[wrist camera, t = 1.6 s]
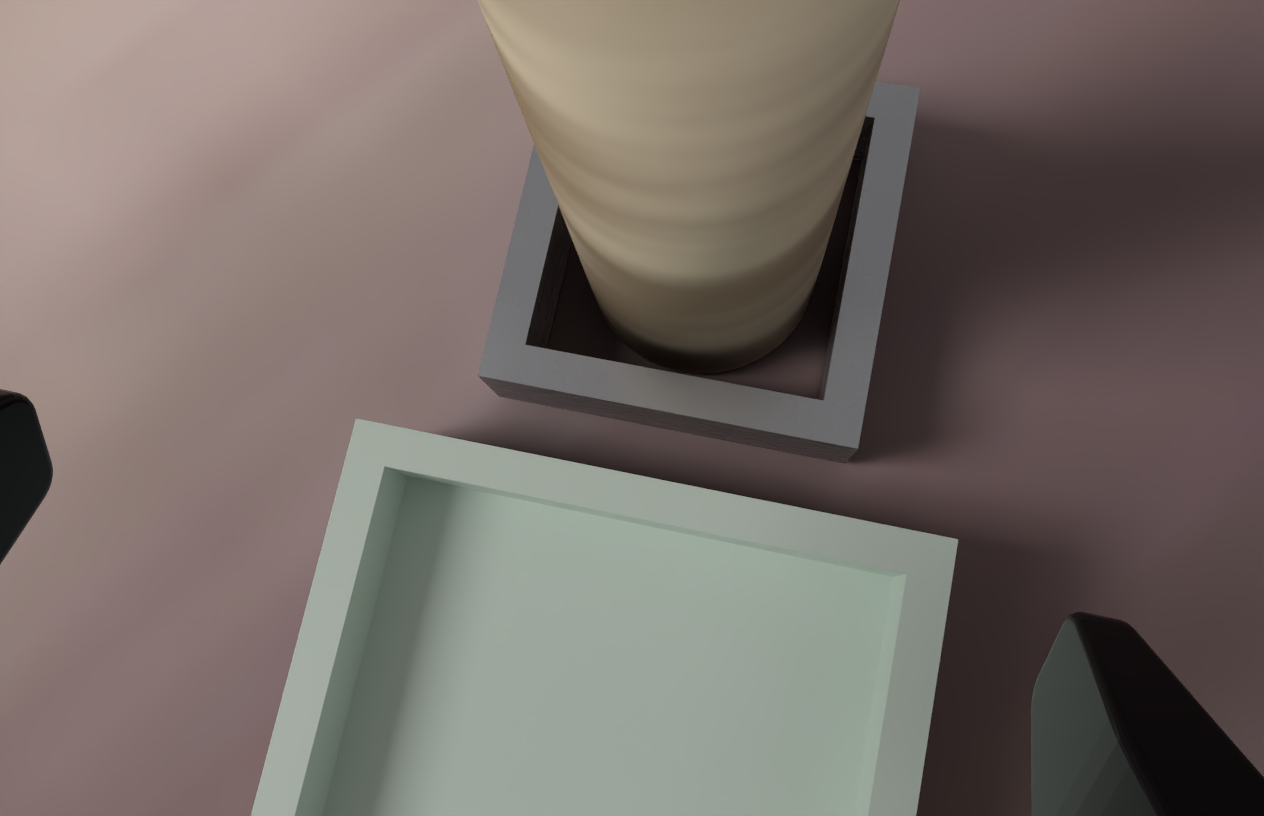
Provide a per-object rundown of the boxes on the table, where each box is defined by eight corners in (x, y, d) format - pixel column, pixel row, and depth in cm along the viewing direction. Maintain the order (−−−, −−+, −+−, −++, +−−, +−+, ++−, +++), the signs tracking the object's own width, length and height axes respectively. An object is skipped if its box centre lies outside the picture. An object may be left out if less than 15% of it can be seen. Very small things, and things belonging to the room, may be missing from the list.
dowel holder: (845, 463, 21) (858, 448, 19) (498, 396, 22) (477, 375, 20) (903, 133, 23) (921, 87, 21) (574, 82, 23) (560, 34, 22)
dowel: (853, 322, 22) (1041, -78, 9) (638, 407, 22) (527, 125, 9) (764, 126, 23) (821, -478, 10) (559, 207, 23) (361, -294, 10)
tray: (833, 1165, 19) (849, 1248, 16) (251, 1003, 20) (187, 1056, 18) (930, 548, 21) (958, 539, 18) (396, 439, 22) (356, 418, 20)
